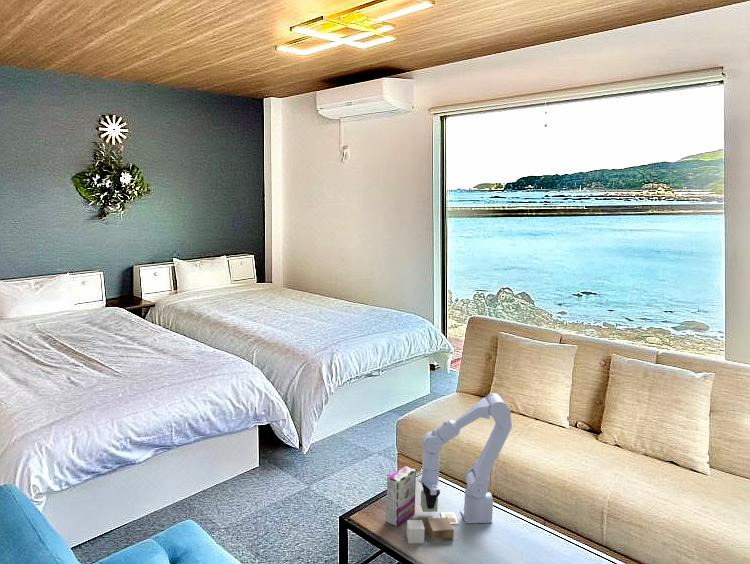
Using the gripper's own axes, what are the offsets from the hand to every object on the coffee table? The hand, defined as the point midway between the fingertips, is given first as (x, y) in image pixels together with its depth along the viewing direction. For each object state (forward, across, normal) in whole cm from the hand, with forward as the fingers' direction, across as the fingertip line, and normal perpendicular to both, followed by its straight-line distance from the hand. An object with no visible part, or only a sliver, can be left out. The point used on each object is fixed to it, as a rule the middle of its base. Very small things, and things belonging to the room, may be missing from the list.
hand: (429, 503), depth 192 cm
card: (+4, +2, +7) cm, 8 cm away
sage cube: (+2, 0, 0) cm, 2 cm away
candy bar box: (+5, +1, -10) cm, 11 cm away
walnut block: (+5, +11, +2) cm, 12 cm away
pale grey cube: (+5, +13, -7) cm, 15 cm away
